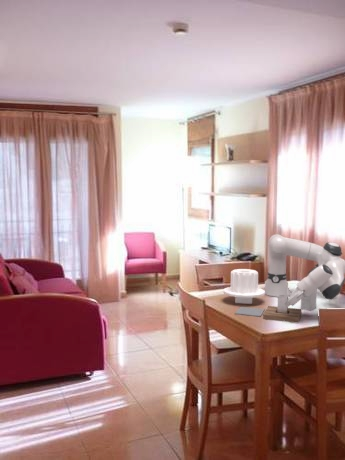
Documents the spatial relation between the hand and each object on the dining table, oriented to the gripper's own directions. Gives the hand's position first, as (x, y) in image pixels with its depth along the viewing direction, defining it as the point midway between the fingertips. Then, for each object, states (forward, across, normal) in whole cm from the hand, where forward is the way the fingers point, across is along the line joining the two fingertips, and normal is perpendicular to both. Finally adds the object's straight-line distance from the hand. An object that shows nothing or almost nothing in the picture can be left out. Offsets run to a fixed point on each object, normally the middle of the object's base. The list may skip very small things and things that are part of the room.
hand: (285, 304), depth 235 cm
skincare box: (-3, +21, -12) cm, 25 cm away
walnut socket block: (+6, 0, -4) cm, 7 cm away
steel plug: (+6, 0, -4) cm, 7 cm away
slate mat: (+18, +1, +9) cm, 21 cm away
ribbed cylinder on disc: (+24, +23, +15) cm, 36 cm away
